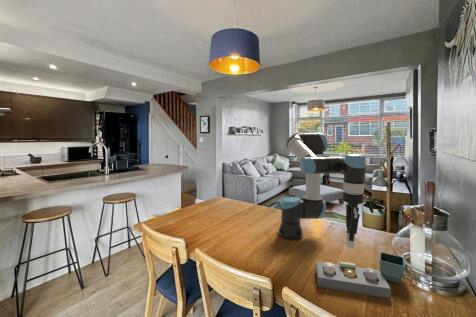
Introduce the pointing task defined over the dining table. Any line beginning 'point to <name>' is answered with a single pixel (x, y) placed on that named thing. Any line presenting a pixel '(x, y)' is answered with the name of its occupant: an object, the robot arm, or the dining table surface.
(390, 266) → the flower pot
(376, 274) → the white rounded dome
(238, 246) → the dining table surface
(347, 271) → the brass button
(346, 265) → the block
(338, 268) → the console
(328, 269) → the white rounded piece
